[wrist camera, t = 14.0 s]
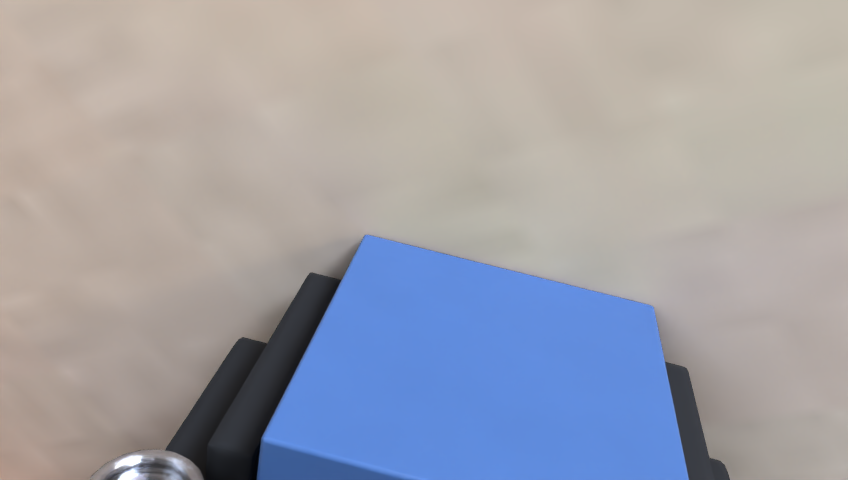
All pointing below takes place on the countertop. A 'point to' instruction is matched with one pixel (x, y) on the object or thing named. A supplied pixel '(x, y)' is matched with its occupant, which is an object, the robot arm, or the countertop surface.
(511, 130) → the countertop surface
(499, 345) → the blue block
